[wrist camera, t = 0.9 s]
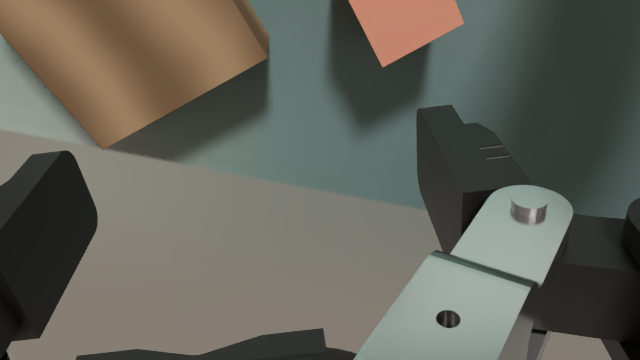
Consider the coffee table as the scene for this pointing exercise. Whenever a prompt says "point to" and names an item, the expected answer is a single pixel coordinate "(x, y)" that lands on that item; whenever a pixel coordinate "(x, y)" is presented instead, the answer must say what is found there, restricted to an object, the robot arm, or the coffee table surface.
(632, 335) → the robot arm
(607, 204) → the coffee table surface
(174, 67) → the walnut block
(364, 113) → the coffee table surface
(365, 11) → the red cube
